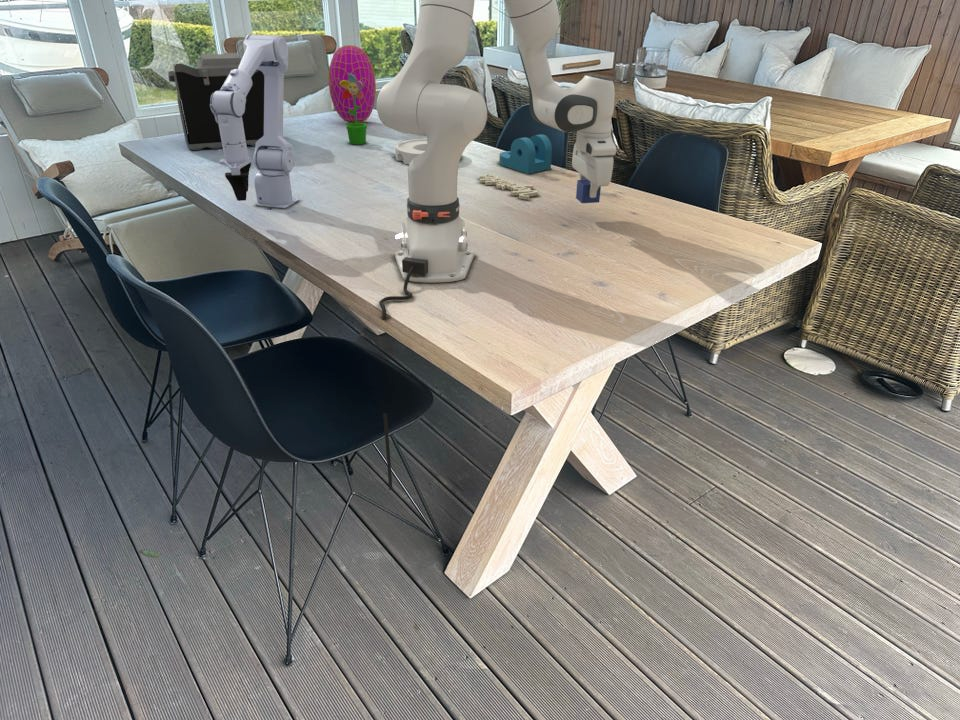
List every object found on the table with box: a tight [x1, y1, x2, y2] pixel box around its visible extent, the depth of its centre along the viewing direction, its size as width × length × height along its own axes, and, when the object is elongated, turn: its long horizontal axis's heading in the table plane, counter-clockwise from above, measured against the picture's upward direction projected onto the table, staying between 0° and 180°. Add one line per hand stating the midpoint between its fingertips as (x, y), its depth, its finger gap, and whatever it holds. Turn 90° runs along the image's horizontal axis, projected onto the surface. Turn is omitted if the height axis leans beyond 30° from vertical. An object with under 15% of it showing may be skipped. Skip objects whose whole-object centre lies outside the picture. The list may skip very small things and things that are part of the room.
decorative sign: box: [479, 173, 539, 201], centre depth 214 cm, size 26×1×10 cm
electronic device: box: [167, 52, 264, 151], centre depth 254 cm, size 37×22×30 cm, turn 111°
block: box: [575, 179, 602, 204], centre depth 185 cm, size 5×5×5 cm
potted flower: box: [339, 73, 368, 145], centre depth 255 cm, size 9×8×25 cm
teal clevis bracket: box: [498, 133, 553, 175], centre depth 233 cm, size 18×10×10 cm, turn 39°
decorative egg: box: [328, 44, 377, 124], centre depth 286 cm, size 19×19×30 cm
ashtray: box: [394, 138, 462, 166], centre depth 243 cm, size 23×23×4 cm
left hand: (242, 195), depth 178 cm, fingers open, 7 cm apart
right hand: (588, 193), depth 186 cm, fingers closed on block, 5 cm apart
